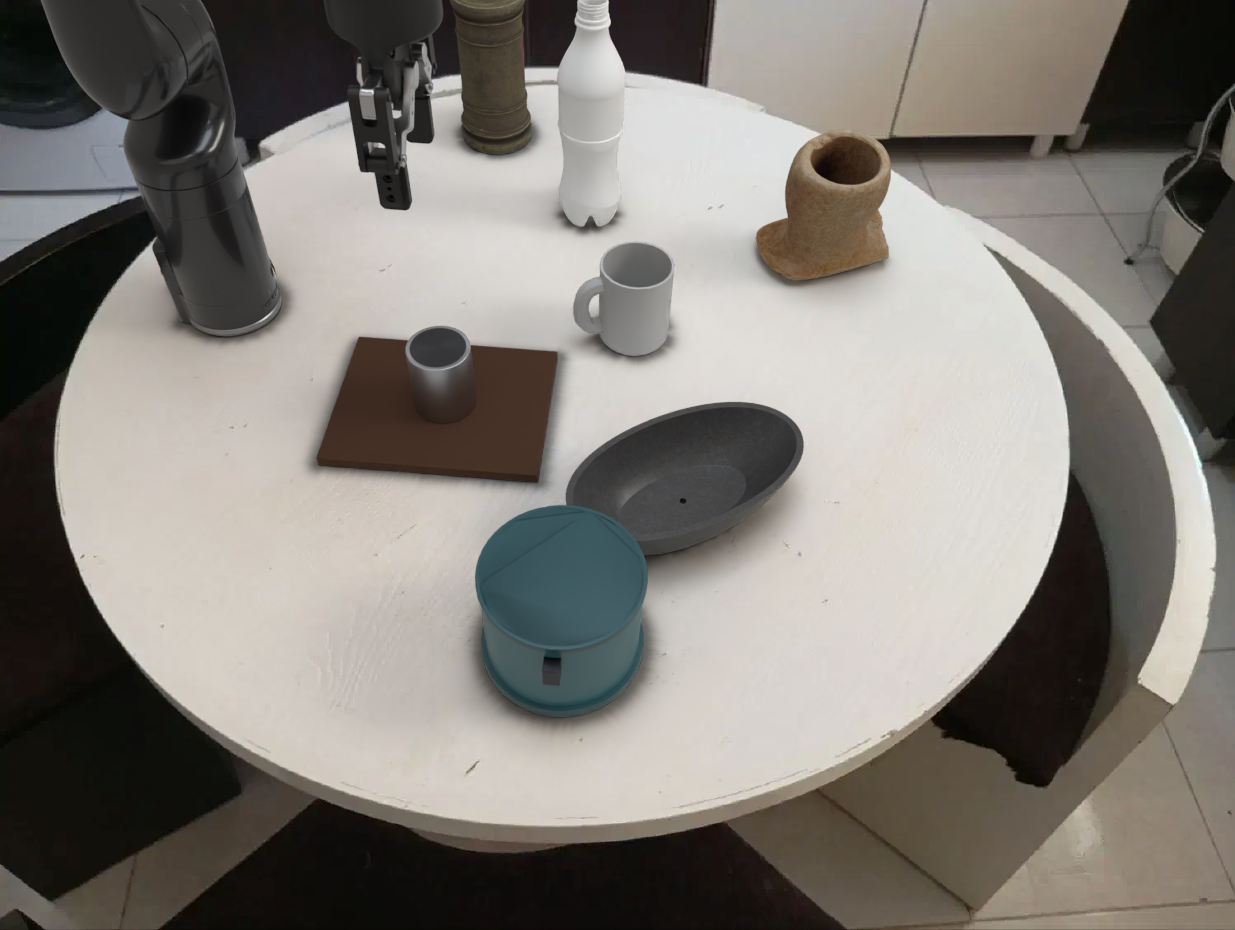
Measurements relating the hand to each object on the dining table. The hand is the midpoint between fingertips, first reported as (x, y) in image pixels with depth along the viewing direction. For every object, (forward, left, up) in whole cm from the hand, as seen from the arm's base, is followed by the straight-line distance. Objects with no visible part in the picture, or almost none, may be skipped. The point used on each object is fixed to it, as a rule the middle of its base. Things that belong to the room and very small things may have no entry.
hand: (409, 173), depth 74 cm
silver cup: (0, 0, -25) cm, 25 cm away
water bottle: (+11, +32, -26) cm, 43 cm away
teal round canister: (+14, -24, -26) cm, 38 cm away
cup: (+16, +12, -26) cm, 33 cm away
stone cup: (+38, +27, -26) cm, 54 cm away
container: (-2, +47, -26) cm, 54 cm away
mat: (0, 0, -26) cm, 26 cm away
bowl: (+23, -10, -26) cm, 36 cm away
